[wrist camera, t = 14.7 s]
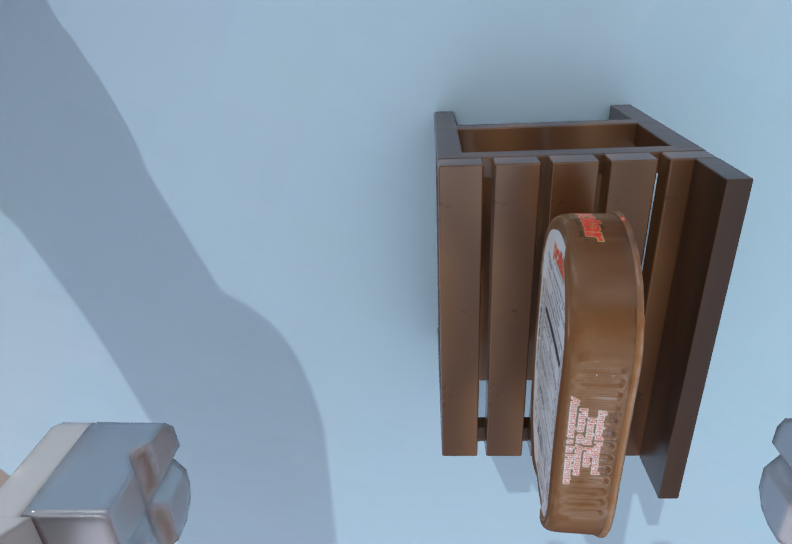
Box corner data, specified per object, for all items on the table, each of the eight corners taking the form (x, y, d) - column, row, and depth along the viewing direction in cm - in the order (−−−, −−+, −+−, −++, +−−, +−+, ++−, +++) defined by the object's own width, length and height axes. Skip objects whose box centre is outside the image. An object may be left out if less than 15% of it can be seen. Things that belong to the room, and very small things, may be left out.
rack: (438, 340, 44) (443, 498, 31) (434, 111, 36) (439, 187, 23) (599, 338, 43) (678, 498, 30) (630, 104, 36) (754, 178, 22)
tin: (573, 443, 32) (618, 583, 25) (516, 442, 32) (543, 582, 25) (605, 182, 26) (680, 266, 18) (533, 184, 26) (577, 268, 18)
